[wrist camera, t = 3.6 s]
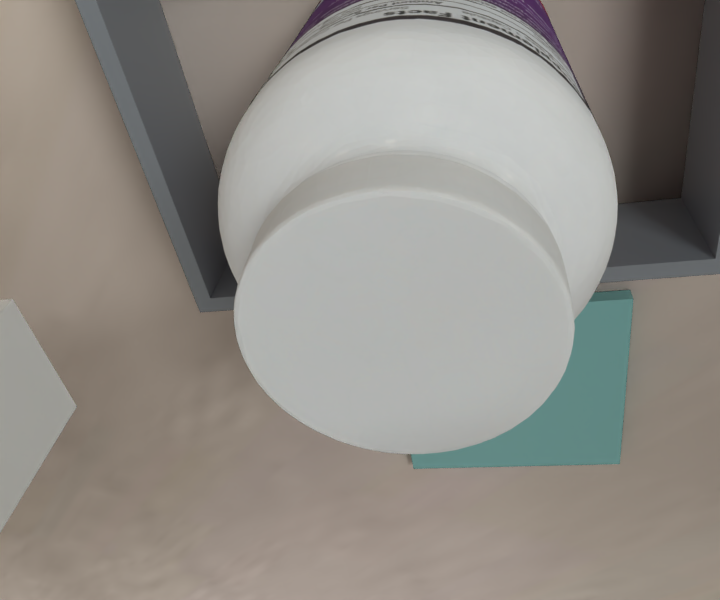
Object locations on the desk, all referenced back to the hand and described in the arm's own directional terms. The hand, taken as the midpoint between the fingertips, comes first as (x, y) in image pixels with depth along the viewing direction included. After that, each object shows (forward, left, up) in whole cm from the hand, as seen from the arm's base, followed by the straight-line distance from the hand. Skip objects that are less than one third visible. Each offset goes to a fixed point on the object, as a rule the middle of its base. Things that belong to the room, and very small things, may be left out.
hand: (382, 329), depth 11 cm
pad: (+15, +2, -14) cm, 20 cm away
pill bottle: (0, 0, -14) cm, 14 cm away
